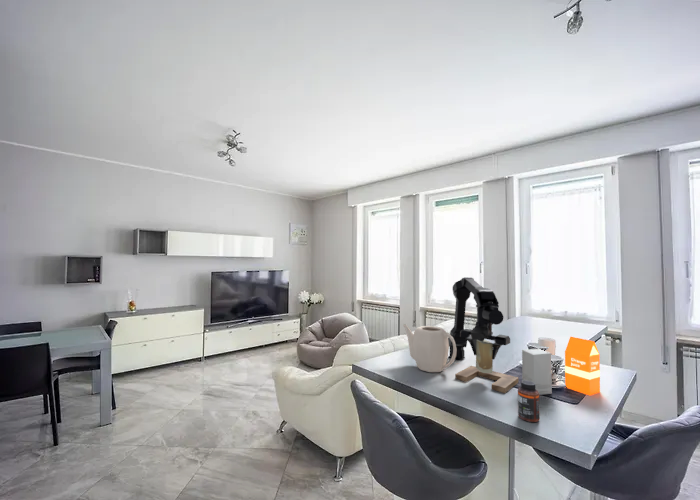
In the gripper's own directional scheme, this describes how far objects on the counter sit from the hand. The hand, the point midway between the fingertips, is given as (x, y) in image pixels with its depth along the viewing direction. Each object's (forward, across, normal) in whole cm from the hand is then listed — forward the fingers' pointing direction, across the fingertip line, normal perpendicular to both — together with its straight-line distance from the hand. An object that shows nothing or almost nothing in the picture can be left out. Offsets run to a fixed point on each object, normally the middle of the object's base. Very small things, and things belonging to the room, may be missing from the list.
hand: (484, 357), depth 130 cm
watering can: (+10, -25, -3) cm, 27 cm away
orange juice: (+10, +30, +21) cm, 38 cm away
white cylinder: (+10, +15, +34) cm, 39 cm away
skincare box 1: (+6, 0, 0) cm, 6 cm away
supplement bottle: (+10, +22, -21) cm, 32 cm away
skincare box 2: (+10, +18, +5) cm, 22 cm away
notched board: (+10, 0, +2) cm, 10 cm away
